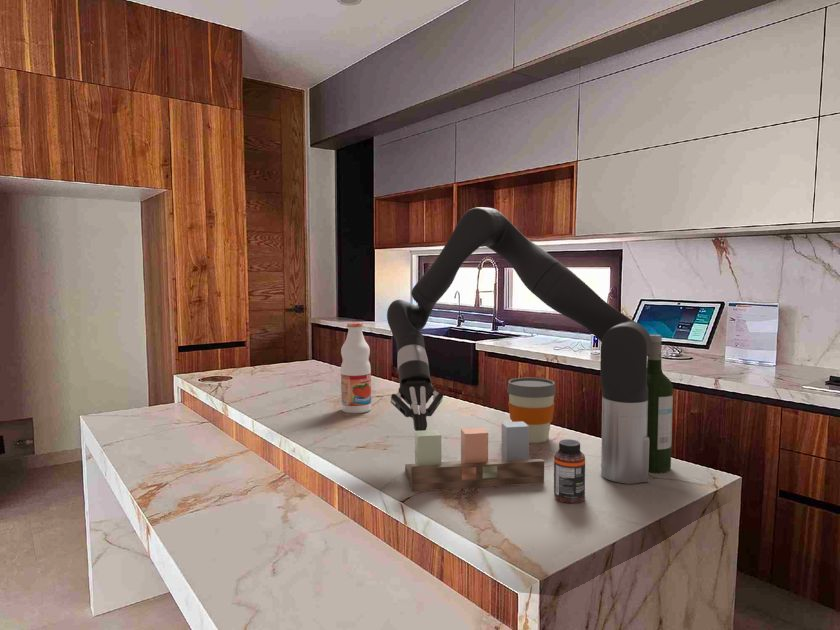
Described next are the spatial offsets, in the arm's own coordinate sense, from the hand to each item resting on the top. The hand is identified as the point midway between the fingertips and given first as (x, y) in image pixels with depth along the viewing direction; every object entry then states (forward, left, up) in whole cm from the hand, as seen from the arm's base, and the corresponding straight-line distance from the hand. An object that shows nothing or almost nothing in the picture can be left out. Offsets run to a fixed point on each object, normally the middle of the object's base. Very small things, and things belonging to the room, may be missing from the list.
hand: (421, 431), depth 129 cm
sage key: (-3, +8, -7) cm, 11 cm away
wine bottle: (-51, -10, -9) cm, 53 cm away
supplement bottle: (-32, +11, -9) cm, 35 cm away
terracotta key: (-12, +4, -7) cm, 15 cm away
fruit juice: (+31, -48, -9) cm, 58 cm away
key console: (-12, +3, -9) cm, 15 cm away
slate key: (-21, -2, -7) cm, 22 cm away
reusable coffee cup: (-24, -28, -9) cm, 38 cm away
